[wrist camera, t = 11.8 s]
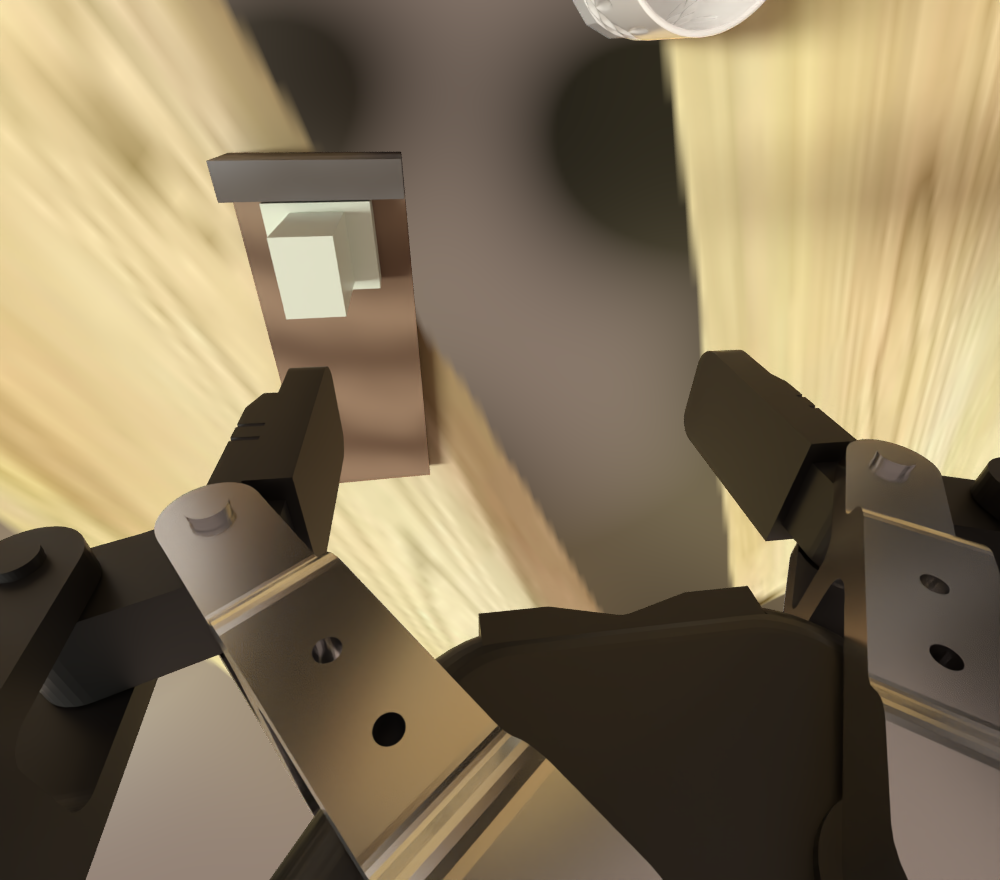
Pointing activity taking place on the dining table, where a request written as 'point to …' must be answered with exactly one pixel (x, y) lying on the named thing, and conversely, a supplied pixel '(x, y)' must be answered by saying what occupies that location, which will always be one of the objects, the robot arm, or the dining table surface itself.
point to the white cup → (664, 17)
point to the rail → (371, 313)
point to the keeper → (321, 254)
